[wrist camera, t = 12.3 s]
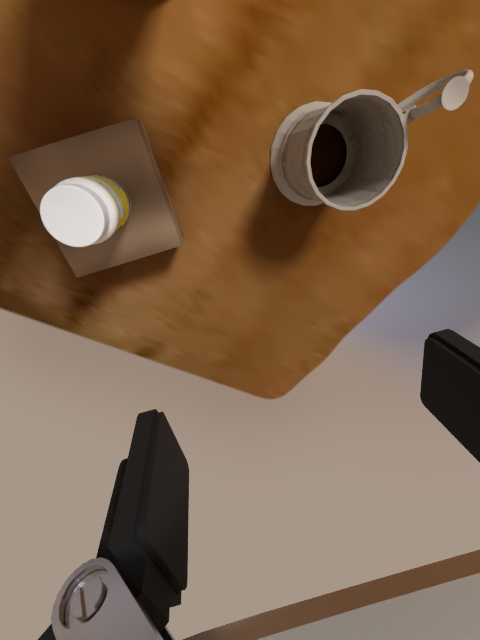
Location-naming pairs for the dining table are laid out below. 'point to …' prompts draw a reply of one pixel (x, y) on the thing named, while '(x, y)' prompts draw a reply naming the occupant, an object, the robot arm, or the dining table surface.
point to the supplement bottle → (85, 210)
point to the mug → (356, 142)
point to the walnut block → (122, 166)
